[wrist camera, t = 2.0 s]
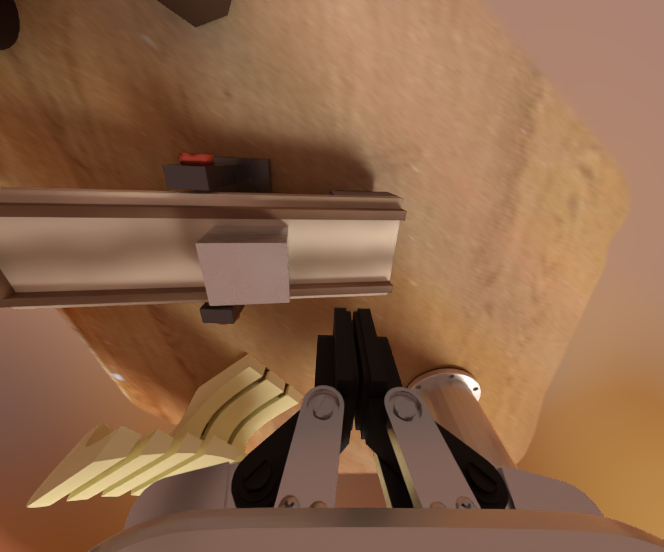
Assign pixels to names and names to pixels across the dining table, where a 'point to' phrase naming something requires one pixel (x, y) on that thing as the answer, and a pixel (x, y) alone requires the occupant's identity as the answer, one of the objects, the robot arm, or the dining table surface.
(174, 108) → the dining table surface
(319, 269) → the beam
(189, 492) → the robot arm
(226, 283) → the block
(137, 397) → the dining table surface
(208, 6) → the beer bottle
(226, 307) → the pivot stand
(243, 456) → the slatted curved stool
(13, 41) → the coffee mug
